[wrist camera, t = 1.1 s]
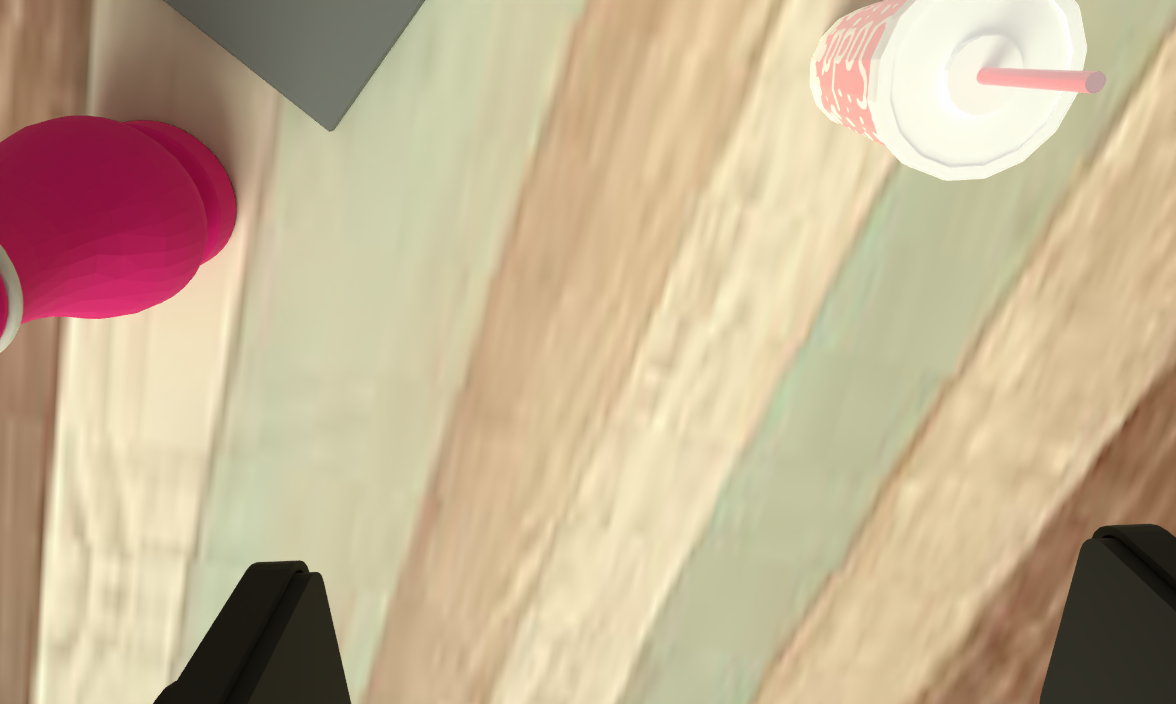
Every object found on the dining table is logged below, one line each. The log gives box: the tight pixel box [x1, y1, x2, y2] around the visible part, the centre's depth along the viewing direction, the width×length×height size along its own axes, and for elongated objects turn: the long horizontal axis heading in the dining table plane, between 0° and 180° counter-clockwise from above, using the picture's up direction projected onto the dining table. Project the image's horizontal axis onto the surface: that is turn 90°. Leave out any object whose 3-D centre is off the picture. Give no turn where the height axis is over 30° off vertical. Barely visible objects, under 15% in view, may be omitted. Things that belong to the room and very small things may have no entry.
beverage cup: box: [810, 0, 1106, 181], centre depth 23 cm, size 6×6×14 cm
